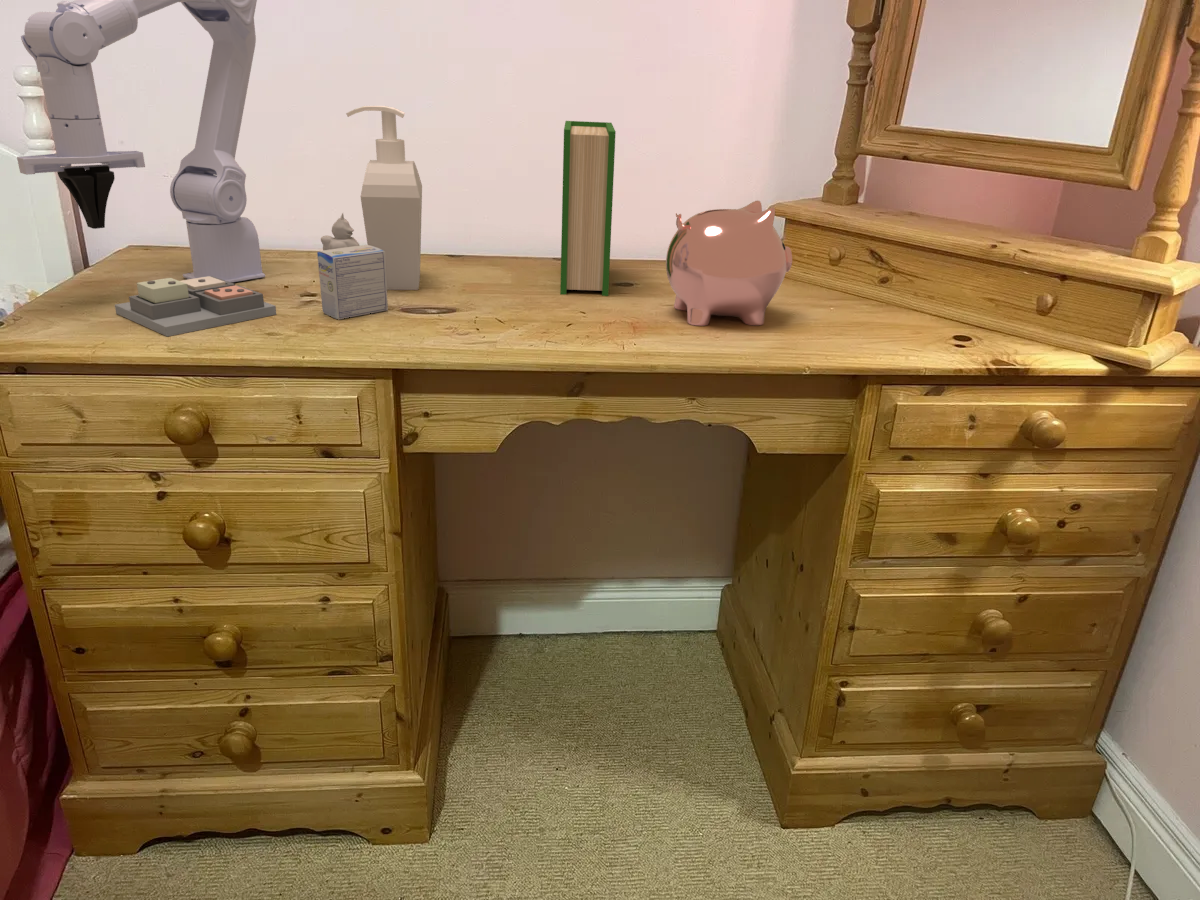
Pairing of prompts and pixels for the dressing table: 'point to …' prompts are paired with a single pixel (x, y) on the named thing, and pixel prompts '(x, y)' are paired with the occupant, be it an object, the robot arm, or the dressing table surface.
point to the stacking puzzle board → (194, 311)
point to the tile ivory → (203, 282)
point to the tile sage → (162, 290)
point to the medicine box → (352, 281)
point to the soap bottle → (393, 204)
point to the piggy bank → (727, 264)
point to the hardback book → (587, 205)
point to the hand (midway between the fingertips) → (96, 227)
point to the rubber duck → (339, 236)
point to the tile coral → (228, 292)
